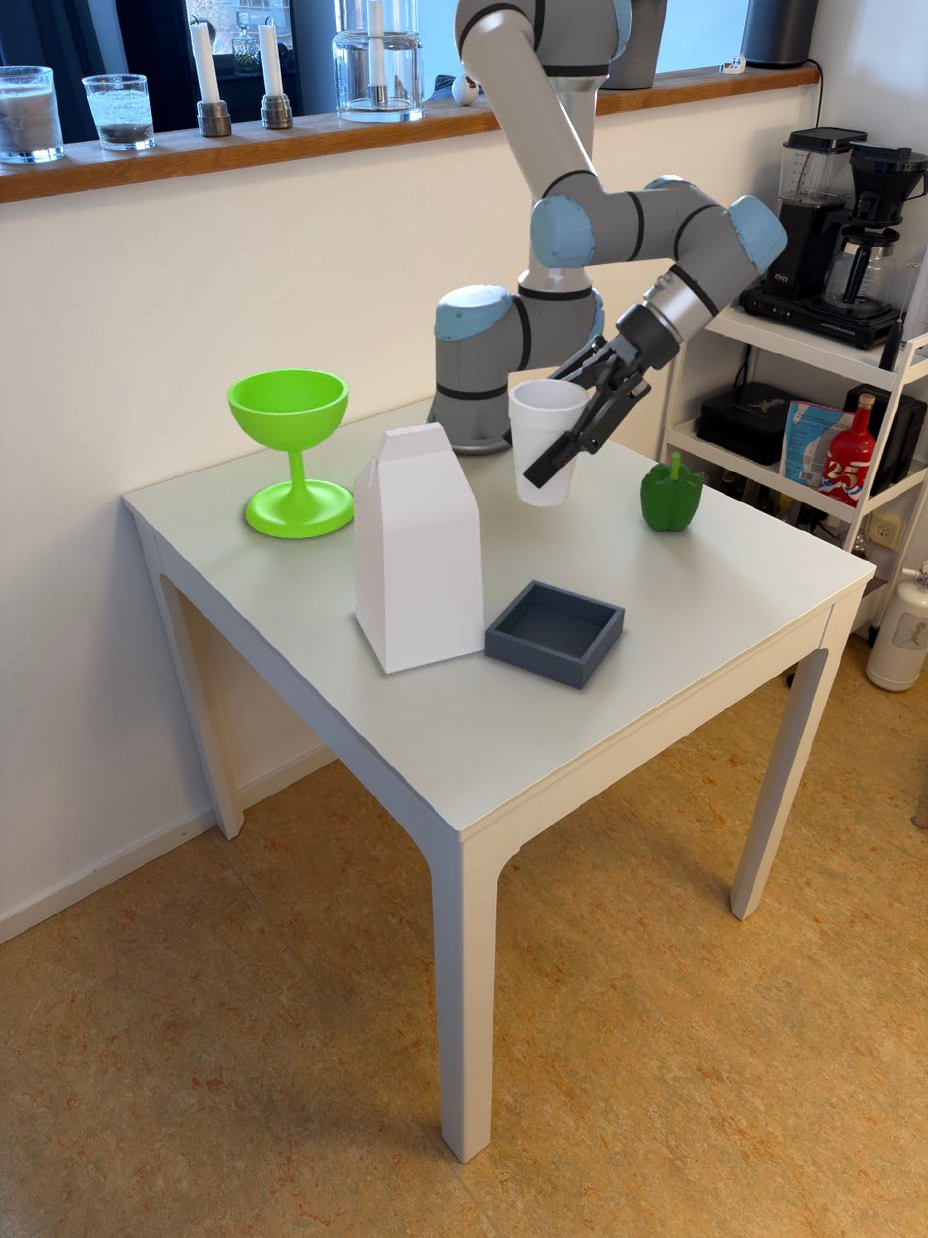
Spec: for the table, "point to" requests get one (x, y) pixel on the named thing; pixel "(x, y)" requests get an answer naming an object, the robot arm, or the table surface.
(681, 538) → the table surface
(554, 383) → the foam cup
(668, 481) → the bell pepper
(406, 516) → the milk
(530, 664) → the tray
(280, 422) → the wineglass
